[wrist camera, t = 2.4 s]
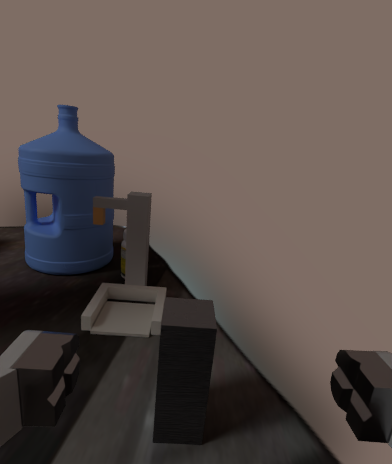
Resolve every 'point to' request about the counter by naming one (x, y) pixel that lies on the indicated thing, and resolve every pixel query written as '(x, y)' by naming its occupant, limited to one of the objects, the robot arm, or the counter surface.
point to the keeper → (127, 277)
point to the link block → (184, 370)
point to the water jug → (67, 199)
